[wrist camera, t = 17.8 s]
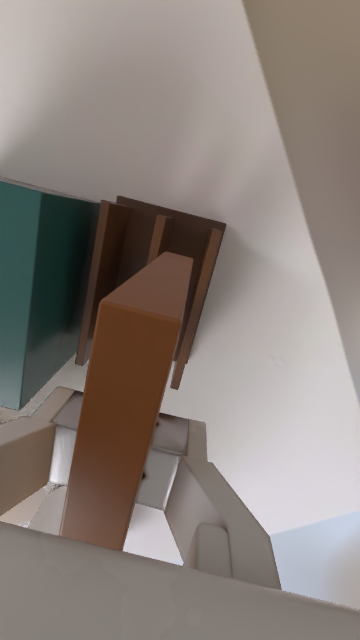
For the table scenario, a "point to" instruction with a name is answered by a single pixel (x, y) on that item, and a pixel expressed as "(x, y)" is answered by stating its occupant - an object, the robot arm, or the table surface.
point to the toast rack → (141, 249)
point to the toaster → (40, 284)
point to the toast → (123, 399)
